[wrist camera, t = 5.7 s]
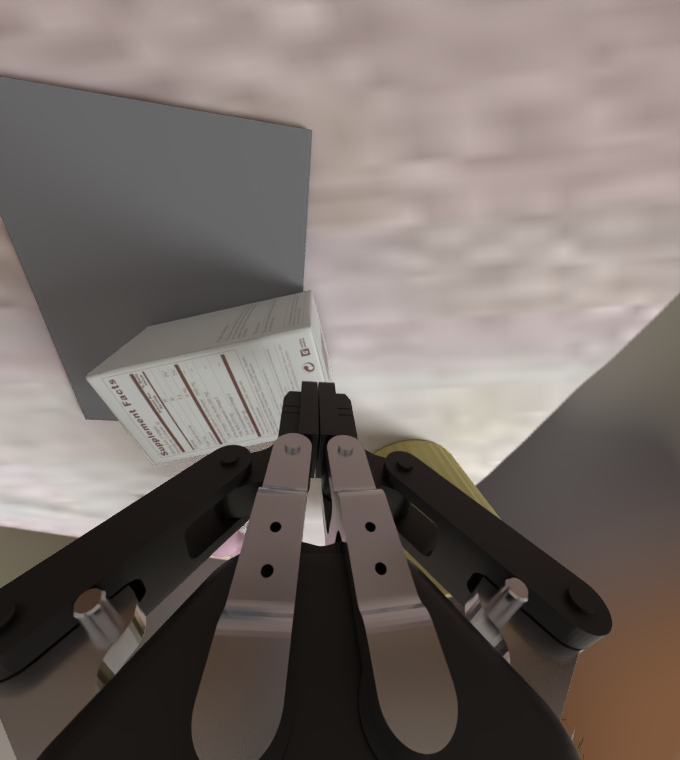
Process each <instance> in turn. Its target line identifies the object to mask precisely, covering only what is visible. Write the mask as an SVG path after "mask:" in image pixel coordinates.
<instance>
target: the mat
mask: <svg viewBox="0 0 680 760" xmlns="http://www.w3.org/2000/svg"><path fill="white" fill-rule="evenodd" d="M311 139H312V130H308V129H302V128H296V127H291V126H285V125H279V124H273V123H267V122H262V121H256V120H250V119H244V118H238V117H233V116H227V115H221V114H215V113H210V112H204V111H198V110H192V109H186V108H181V107H175V106H169V105H163V104H157V103H152V102H146V101H140V100H134V99H128V98H123V97H117V96H111V95H105V94H99V93H94V92H88V91H82V90H76V89H71V88H65V87H59V86H53V85H47V84H42V83H36V82H30V81H24V80H18V79H13V78H7V77H1V76H0V214H1V217H2V219H3V222H4V224H5V226H6V229H7V231H8V234H9V236H10V238H11V241H12V243H13V246H14V248H15V250H16V253H17V255H18V258H19V260H20V262H21V265H22V267H23V270H24V272H25V275H26V277H27V279H28V282H29V284H30V287H31V289H32V291H33V294H34V296H35V299H36V301H37V303H38V306H39V308H40V311H41V313H42V316H43V318H44V320H45V323H46V325H47V328H48V330H49V332H50V335H51V337H52V340H53V342H54V344H55V347H56V349H57V352H58V354H59V356H60V359H61V361H62V364H63V366H64V369H65V371H66V373H67V376H68V378H69V381H70V383H71V385H72V388H73V390H74V393H75V395H76V397H77V400H78V402H79V405H80V407H81V409H82V412H83V414H84V417H85V419H90V420H114V421H119V420H118V419H117V418H116V416H115V415H114V414H113V412H112V411H111V410H110V408H109V407H108V406H107V405H106V403H105V402H104V401H103V400H102V398H101V397H100V396H99V395H98V393H97V392H96V391H95V390H94V388H93V387H92V386H91V385H90V384H89V382H88V381H87V380H86V376H87V374H88V373H89V372H91V371H92V370H93V369H95V368H96V367H97V366H98V365H100V364H101V363H102V362H104V361H105V360H106V359H108V358H109V357H110V356H111V355H113V354H114V353H115V352H117V351H118V350H119V349H120V348H121V347H122V346H124V345H125V344H126V343H128V342H129V341H131V340H132V339H133V338H134V337H136V336H137V335H138V334H140V333H141V332H142V331H143V330H145V329H146V328H147V327H148V326H152V325H157V324H161V323H165V322H170V321H174V320H179V319H183V318H188V317H192V316H197V315H201V314H206V313H211V312H215V311H219V310H224V309H228V308H233V307H237V306H242V305H246V304H251V303H255V302H260V301H264V300H269V299H273V298H278V297H282V296H287V295H291V294H296V293H300V292H303V278H304V261H305V244H306V226H307V209H308V191H309V174H310V157H311Z"/></svg>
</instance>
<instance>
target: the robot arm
mask: <svg viewBox="0 0 680 760" xmlns="http://www.w3.org/2000/svg"><path fill="white" fill-rule="evenodd" d="M315 472H316V478H321V479H322V487H321V505H322V514H323V523H324V532H325V544H326V546H316V545H312V544H308V543H304V542H302V538H303V529H304V520H305V510H306V501H307V493H308V491H309V488H310V479H311V478H314V473H315ZM411 503H412V504H413V505H414V506H413V505H412V504H411ZM417 508H418V509H419V510H420V511H421V512H422V513H421V512H420V511H419V510H418V509H417ZM424 514H425V515H426V516H427V517H428V518H429V519H428V518H427V517H426V516H425V515H424ZM248 520H249V523H248V527H247V530H246V534H245V537H244V541H243V544H242V548H241V552H240V554H238V555H236V556H235V557H233V558H231V559H229V560H228V561H226V562H225V563H223V564H222V565H221V566H220V567H218V568H217V569H216V570H215V571H214V572H213V573H212V574H211V575H210V576H209V577H208V578H207V579H206V580H205V581H204V582H203V583H202V584H201V585H200V586H199V587H198V588H197V590H195V592H194V593H193V594H192V595H191V596H190V597H189V598H188V599H187V600H186V601H185V602H184V603H183V604H182V605H181V606H180V607H179V608H178V609H177V610H176V612H175V613H174V614H173V615H172V616H171V617H170V618H169V619H168V620H167V621H166V622H165V623H164V624H163V625H162V626H161V627H160V628H159V629H158V631H156V632H155V634H154V635H153V636H152V637H151V638H150V639H149V640H148V641H147V642H146V643H145V644H144V645H143V646H142V647H141V648H140V649H139V650H138V651H137V652H136V653H135V655H134V656H133V657H132V658H131V659H130V660H129V661H128V662H127V663H126V664H125V665H124V666H123V664H124V663H125V661H126V660H127V659H128V658H129V657H130V655H131V654H132V653H133V652H134V651H135V649H136V648H137V646H138V645H139V643H140V641H141V639H142V637H143V634H144V631H145V627H146V616H147V615H148V614H149V613H150V612H151V611H152V610H153V609H154V608H155V607H156V606H157V605H159V604H160V603H161V602H162V601H163V600H164V599H165V598H166V597H167V596H168V595H169V594H170V593H171V592H172V591H174V590H175V589H176V588H177V587H178V586H179V585H180V584H181V583H182V582H183V581H184V580H185V579H186V578H187V577H188V576H190V575H191V573H193V572H194V571H195V570H196V569H197V568H198V567H199V566H200V565H201V564H202V563H203V562H204V561H206V559H208V558H209V557H210V556H211V555H212V554H213V553H214V552H215V551H216V550H217V549H218V548H219V547H220V546H222V545H223V544H224V543H225V542H226V541H227V540H228V539H229V538H230V537H231V536H232V535H233V534H234V533H235V532H236V531H238V530H239V529H240V528H241V527H242V526H243V525H244V524H245V523H246V522H247V521H248ZM432 521H433V522H434V523H435V524H436V525H435V524H434V523H433V522H432ZM403 548H404V549H405V550H406V551H407V552H408V553H409V554H410V555H411V556H412V557H413V558H414V559H415V560H416V561H417V562H418V563H419V564H420V565H421V566H422V567H423V568H424V569H425V570H426V571H427V572H428V573H429V574H430V575H431V576H432V577H433V578H434V579H435V580H436V581H437V582H438V583H439V584H440V585H441V586H442V587H443V588H444V589H445V590H446V591H447V592H448V593H449V594H450V595H451V596H452V597H453V598H454V599H455V600H457V601H458V602H459V603H460V604H461V605H462V606H463V607H464V608H465V614H466V617H465V616H464V615H463V614H462V613H461V612H460V611H459V610H458V609H457V608H456V607H455V605H454V604H453V603H452V602H451V601H450V600H449V599H448V598H447V597H446V596H445V595H444V594H443V593H442V592H441V591H440V590H439V589H438V587H437V586H436V585H435V584H434V583H433V582H432V581H431V580H430V579H429V578H428V577H427V576H426V575H425V574H424V573H423V572H422V571H421V570H420V569H419V568H418V567H417V566H416V565H415V564H414V563H413V562H412V561H410V560H409V559H407V558H406V557H405V554H404V551H403ZM611 628H612V619H611V615H610V613H609V610H608V608H607V606H606V605H605V603H604V602H603V600H602V599H601V598H600V596H599V595H598V594H597V593H596V592H595V591H594V590H593V589H592V588H591V587H590V586H589V585H588V584H586V583H585V582H584V581H583V580H581V579H580V578H579V577H577V576H576V575H575V574H573V573H572V572H570V571H569V570H568V569H566V568H565V567H564V566H562V565H561V564H560V563H558V562H557V561H556V560H554V559H553V558H552V557H550V556H549V555H548V554H546V553H545V552H544V551H542V550H541V549H539V548H538V547H536V546H535V545H534V544H533V543H531V542H530V541H529V540H527V539H526V538H524V537H523V536H522V535H521V534H519V533H518V532H517V531H515V530H514V529H512V528H511V527H510V526H508V525H507V524H506V523H504V522H503V521H502V520H500V519H499V518H498V517H496V516H495V515H494V514H492V513H491V512H490V511H488V510H487V509H486V508H484V507H483V506H482V505H480V504H479V503H477V502H476V501H475V500H473V499H472V498H471V497H469V496H468V495H467V494H465V493H464V492H463V491H461V490H460V489H459V488H457V487H456V486H455V485H453V484H452V483H450V482H449V481H448V480H446V479H445V478H444V477H442V476H441V475H440V474H438V473H437V472H436V471H434V470H433V469H432V468H430V467H429V466H428V465H426V464H425V463H424V462H422V461H421V460H419V459H418V458H417V457H415V456H414V455H412V454H410V453H408V452H404V451H394V452H391V453H389V454H388V455H387V457H386V458H385V457H381V456H378V455H375V454H372V453H370V452H368V451H366V450H365V449H364V447H363V445H362V443H361V442H360V441H359V440H358V438H357V432H356V427H355V421H354V416H353V410H352V405H351V401H350V399H349V398H348V397H347V396H346V395H345V394H336V391H335V383H331V382H319V383H318V382H314V381H302V385H301V392H300V391H289V392H288V393H287V394H286V395H285V396H284V399H283V407H282V413H281V420H280V427H279V434H278V438H277V439H276V441H275V442H274V444H273V445H272V446H271V447H269V448H267V449H265V450H262V451H258V452H254V453H250V452H249V450H248V449H246V448H245V447H243V446H240V445H226V446H223V447H220V448H218V449H216V450H215V451H213V452H212V453H210V454H209V455H207V456H206V457H204V458H202V459H201V460H199V461H198V462H196V463H195V464H193V465H192V466H190V467H188V468H187V469H185V470H184V471H182V472H181V473H179V474H178V475H176V476H174V477H173V478H171V479H170V480H168V481H167V482H165V483H164V484H162V485H160V486H159V487H157V488H156V489H154V490H153V491H151V492H150V493H148V494H146V495H145V496H143V497H142V498H140V499H139V500H137V501H136V502H134V503H132V504H131V505H129V506H128V507H126V508H125V509H123V510H122V511H120V512H118V513H117V514H115V515H114V516H112V517H111V518H109V519H108V520H106V521H104V522H103V523H101V524H100V525H98V526H97V527H95V528H94V529H92V530H90V531H89V532H87V533H86V534H84V535H83V536H81V537H80V538H78V539H76V540H75V541H73V542H72V543H70V544H69V545H67V546H66V547H64V548H63V549H61V550H59V551H58V552H56V553H55V554H53V555H52V556H50V557H48V558H47V559H45V560H44V561H42V562H41V563H39V564H38V565H36V566H35V567H33V568H31V569H30V570H28V571H27V572H25V573H24V574H22V575H21V576H19V577H17V578H16V579H14V580H13V581H11V582H10V583H8V584H7V585H5V586H3V587H2V588H0V719H1V722H2V724H3V727H4V729H5V732H6V734H7V737H8V739H9V741H10V744H11V746H12V749H13V751H14V754H15V756H16V758H17V760H581V758H580V756H579V753H578V751H577V749H576V747H575V745H574V743H573V742H572V740H571V738H570V736H569V734H568V733H567V731H566V729H565V728H564V726H563V725H562V723H561V721H560V719H561V716H562V712H563V708H564V705H565V701H566V697H567V694H568V689H569V686H570V683H571V678H572V675H573V671H574V668H575V664H576V661H577V657H578V654H579V653H580V652H582V651H583V650H585V649H586V648H588V647H589V646H591V645H592V644H593V643H595V642H597V641H598V640H599V639H601V638H602V637H604V636H605V635H607V634H608V633H609V632H610V631H611ZM122 666H123V667H122ZM121 667H122V668H121ZM120 668H121V669H120Z"/></svg>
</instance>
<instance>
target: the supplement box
mask: <svg viewBox="0 0 680 760" xmlns="http://www.w3.org/2000/svg"><path fill="white" fill-rule="evenodd" d="M331 375H332V368H331V364H330V360H329V356H328V352H327V348H326V344H325V340H324V336H323V332H322V328H321V324H320V320H319V316H318V312H317V308H316V305H315V301H314V297H313V294H312V291H311V290H309V291H305V292H300V293H296V294H291V295H287V296H282V297H278V298H273V299H269V300H264V301H260V302H255V303H251V304H246V305H242V306H237V307H233V308H228V309H224V310H219V311H215V312H211V313H206V314H201V315H197V316H192V317H188V318H183V319H179V320H174V321H170V322H165V323H161V324H157V325H152V326H148V327H147V328H146V329H145V330H143V331H142V332H141V333H140V334H138V335H137V336H136V337H134V338H133V339H132V340H131V341H129V342H128V343H126V344H125V345H124V346H122V347H121V348H120V349H119V350H118V351H117V352H115V353H114V354H113V355H111V356H110V357H109V358H108V359H106V360H105V361H104V362H102V363H101V364H100V365H98V366H97V367H96V368H95V369H93V370H92V371H91V372H89V373H88V374H87V376H86V380H87V381H88V382H89V384H90V385H91V386H92V387H93V388H94V390H95V391H96V392H97V393H98V395H99V396H100V397H101V398H102V400H103V401H104V402H105V403H106V405H107V406H108V407H109V408H110V410H111V411H112V412H113V414H114V415H115V416H116V418H117V419H118V420H119V422H120V423H121V424H122V426H123V427H124V428H125V430H126V431H127V432H128V434H129V435H130V436H131V437H132V439H133V440H134V441H135V442H136V444H137V445H138V446H139V448H140V449H141V450H142V452H143V453H144V454H145V455H146V457H147V458H148V459H149V460H150V462H151V463H152V464H153V465H156V464H160V463H165V462H170V461H176V460H181V459H186V458H190V457H195V456H201V455H206V454H210V453H212V452H213V451H215V450H216V449H218V448H220V447H223V446H226V445H240V446H243V447H246V446H251V445H256V444H261V443H265V442H271V441H276V439H277V438H278V434H279V427H280V420H281V413H282V407H283V399H284V396H285V395H286V394H287V393H288V392H289V391H300V392H301V385H302V381H314V382H318V383H319V382H331V383H332V377H331Z"/></svg>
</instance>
